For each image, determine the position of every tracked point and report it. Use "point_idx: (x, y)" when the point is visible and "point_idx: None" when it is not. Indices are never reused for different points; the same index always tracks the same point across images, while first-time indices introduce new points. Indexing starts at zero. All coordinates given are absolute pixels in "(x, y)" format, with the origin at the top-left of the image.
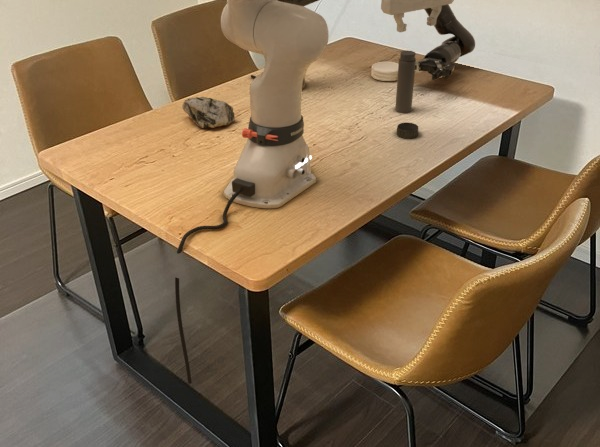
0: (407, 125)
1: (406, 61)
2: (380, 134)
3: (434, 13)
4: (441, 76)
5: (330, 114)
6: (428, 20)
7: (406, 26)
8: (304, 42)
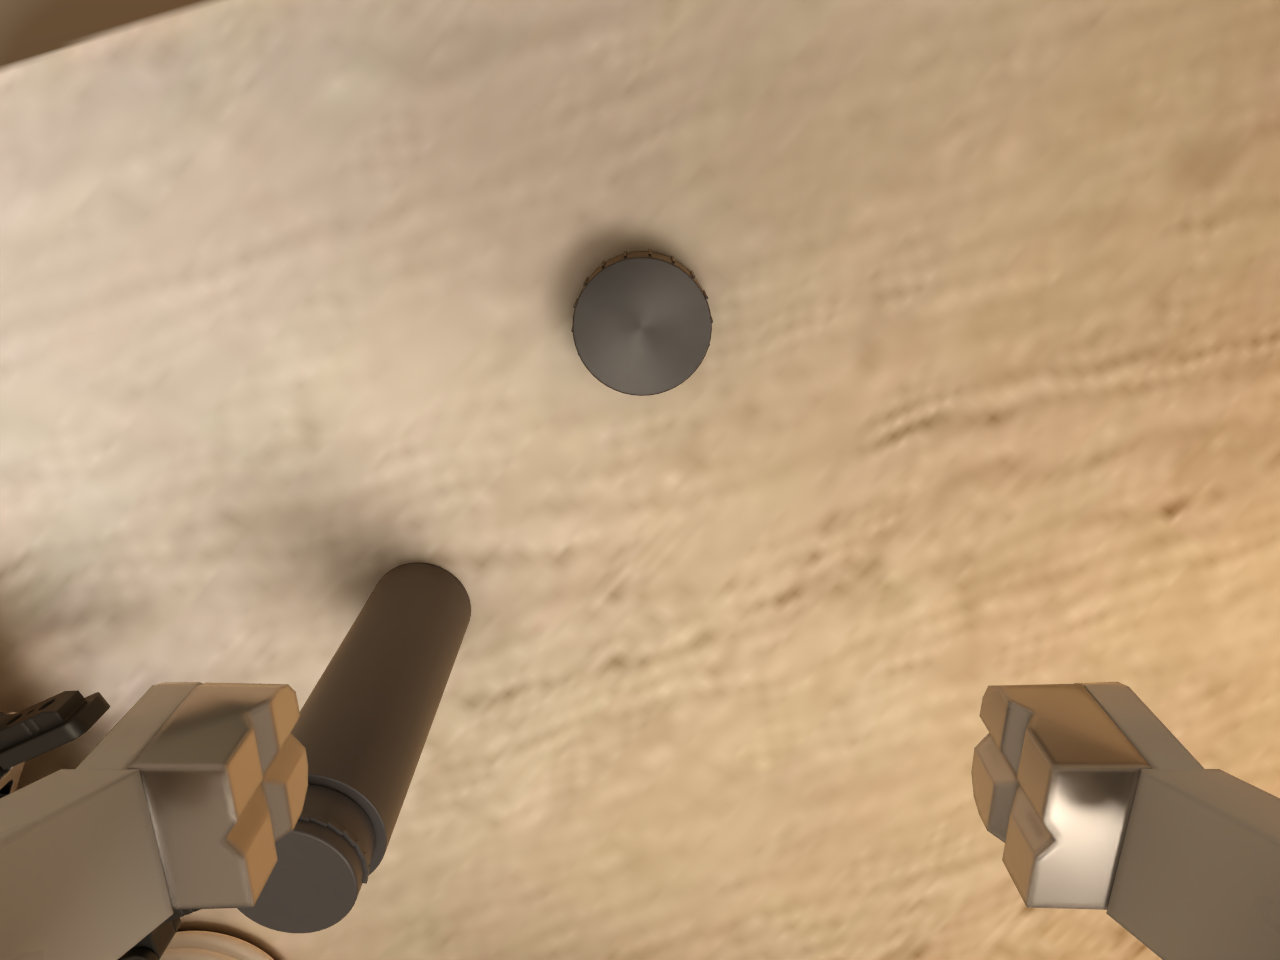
0: (632, 343)
1: (353, 803)
2: (776, 411)
3: (47, 906)
4: (9, 716)
5: (815, 768)
6: (271, 821)
7: (1033, 732)
8: None
